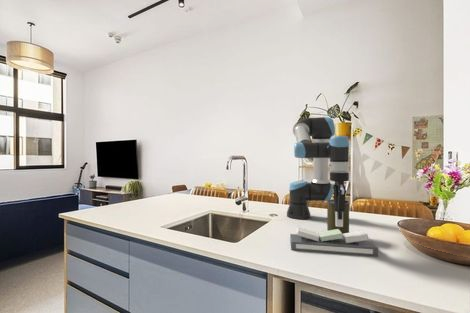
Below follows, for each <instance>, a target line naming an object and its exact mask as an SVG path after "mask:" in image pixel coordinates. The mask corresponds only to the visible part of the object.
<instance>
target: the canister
mask: <svg viewBox="0 0 470 313" xmlns="http://www.w3.org/2000/svg"><path fill="white" fill-rule="evenodd" d="M326 203H327V212H326V213H327V217H326V218H327V221H326V222H327V223H326V226H327V227H326V228H327V230H326V231H329V230H335V229H339V230H340V231H341V233H342V234H344V233H350V200H346V199H345V211H343V227H336V212H335V208H334V195H332V198H331V200H328V201H326Z"/></svg>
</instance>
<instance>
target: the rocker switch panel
mask: <svg viewBox="0 0 470 313" xmlns="http://www.w3.org/2000/svg"><path fill="white" fill-rule="evenodd" d="M289 235H290V236H289V238H290V239H289V242H290V250H291V251H303V252H313V253H314V252H316V253H327V254H330V253H331V254H340V255H341V254H342V255H355V256H368V257H378V256H379V247H378V246H377V245H376V244H375V243H374V242H373V241H372V240H370V239H369V240H364V241H357V242H351V243H346V242H345V241H344V239H343V238H340V239H334V240H328V241H322V242H321V240H320V238H319V240H318V241H315V240H312V239H309V238H305V237H302V236H299V235H297V233H296V234H295V233H290V234H289Z"/></svg>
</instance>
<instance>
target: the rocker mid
mask: <svg viewBox="0 0 470 313" xmlns="http://www.w3.org/2000/svg"><path fill="white" fill-rule="evenodd" d="M317 233H318V235H319V238H320V240H321V242H322V241H328V240H334V239H340V238H343V236H342V233H341V231H340V230H339V229H335V230H329V231H327V230H325V231H319V232H318V231H317Z"/></svg>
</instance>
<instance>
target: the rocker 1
mask: <svg viewBox="0 0 470 313" xmlns="http://www.w3.org/2000/svg"><path fill="white" fill-rule="evenodd" d="M295 230H296V234H297V235H299V236H302V237H305V238H309V239H312V240H315V241H318V240H319V235H318V231H317V232H316V231H314V230H310V229H307V228H303V227H301V226H297V227H296V229H295Z"/></svg>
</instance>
